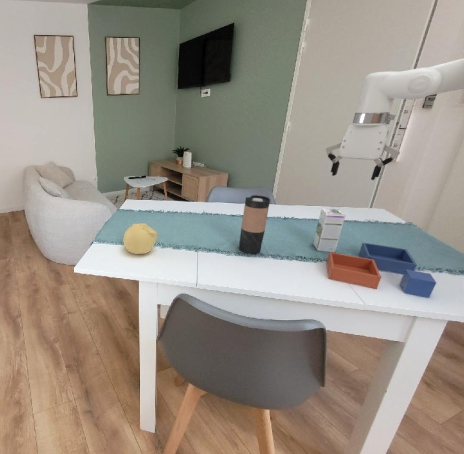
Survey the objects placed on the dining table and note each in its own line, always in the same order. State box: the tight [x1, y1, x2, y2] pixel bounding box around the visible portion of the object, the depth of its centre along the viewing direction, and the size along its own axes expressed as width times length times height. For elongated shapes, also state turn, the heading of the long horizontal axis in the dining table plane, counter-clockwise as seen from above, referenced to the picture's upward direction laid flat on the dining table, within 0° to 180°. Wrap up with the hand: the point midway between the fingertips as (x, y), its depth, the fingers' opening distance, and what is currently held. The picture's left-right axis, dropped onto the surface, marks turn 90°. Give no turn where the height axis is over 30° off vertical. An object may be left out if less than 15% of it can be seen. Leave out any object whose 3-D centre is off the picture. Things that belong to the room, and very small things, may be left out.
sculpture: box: [123, 222, 158, 255], centre depth 109 cm, size 11×12×11 cm
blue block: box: [399, 270, 437, 299], centre depth 81 cm, size 5×5×5 cm
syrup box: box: [312, 208, 346, 253], centre depth 103 cm, size 6×6×14 cm
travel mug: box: [238, 194, 271, 255], centre depth 104 cm, size 8×8×20 cm
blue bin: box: [358, 242, 417, 275], centre depth 94 cm, size 11×11×4 cm
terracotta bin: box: [326, 252, 382, 290], centre depth 89 cm, size 11×11×4 cm
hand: (352, 177), depth 91 cm, fingers open, 9 cm apart
